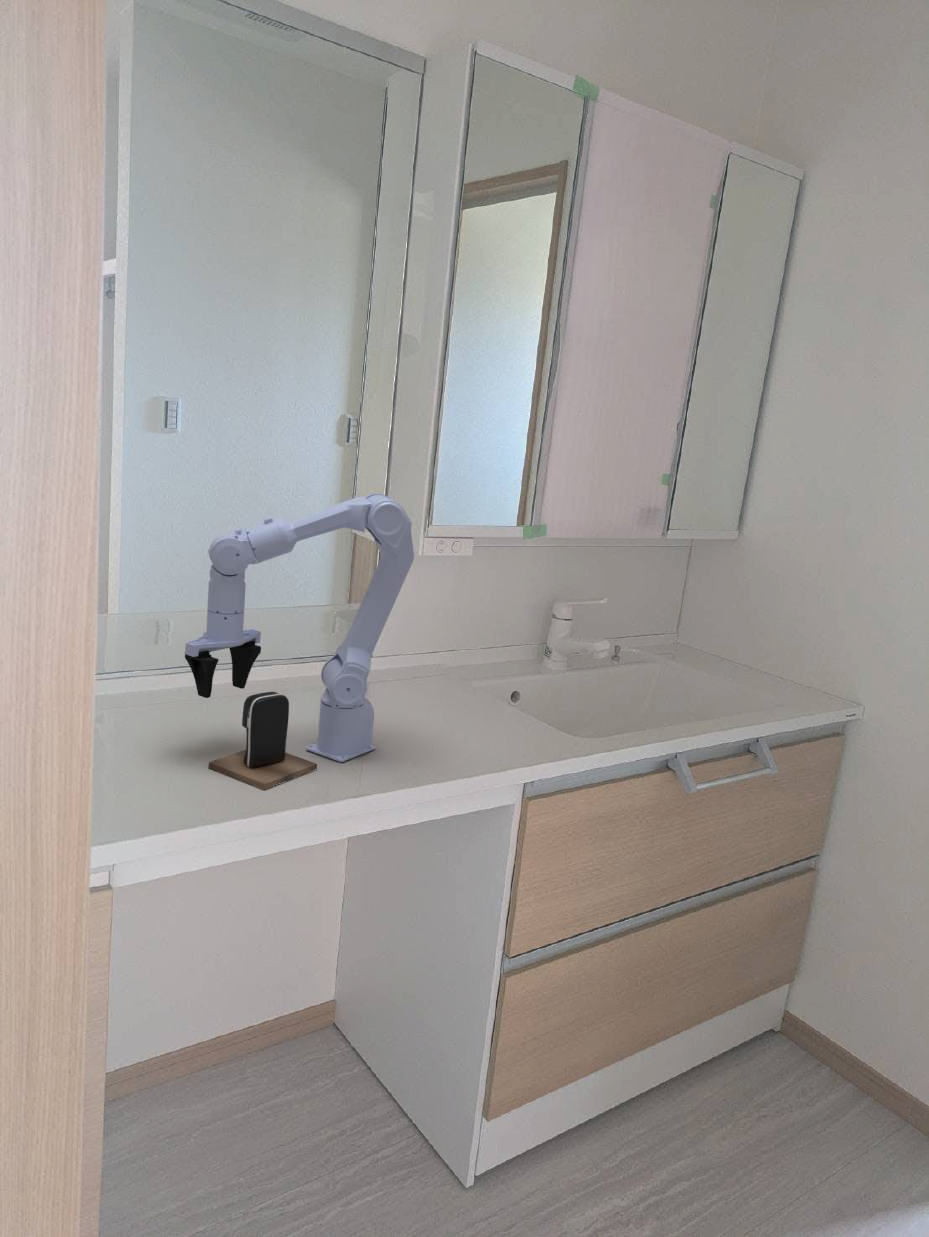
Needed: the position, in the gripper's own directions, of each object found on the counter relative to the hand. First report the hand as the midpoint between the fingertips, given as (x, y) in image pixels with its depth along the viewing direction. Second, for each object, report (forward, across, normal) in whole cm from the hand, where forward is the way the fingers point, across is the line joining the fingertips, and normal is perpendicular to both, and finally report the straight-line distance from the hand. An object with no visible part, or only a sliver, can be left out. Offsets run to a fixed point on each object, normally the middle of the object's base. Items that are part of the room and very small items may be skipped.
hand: (221, 691), depth 161 cm
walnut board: (+10, 0, +10) cm, 14 cm away
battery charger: (+10, 0, +10) cm, 14 cm away
